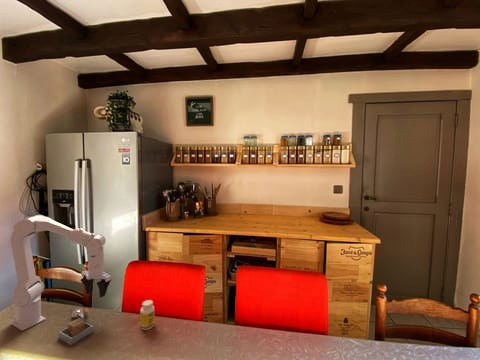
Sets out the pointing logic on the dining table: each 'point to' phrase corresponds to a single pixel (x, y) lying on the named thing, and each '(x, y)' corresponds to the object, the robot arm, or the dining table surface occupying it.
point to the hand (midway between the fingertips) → (96, 294)
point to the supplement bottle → (147, 315)
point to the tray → (72, 340)
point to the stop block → (76, 327)
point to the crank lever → (81, 313)
